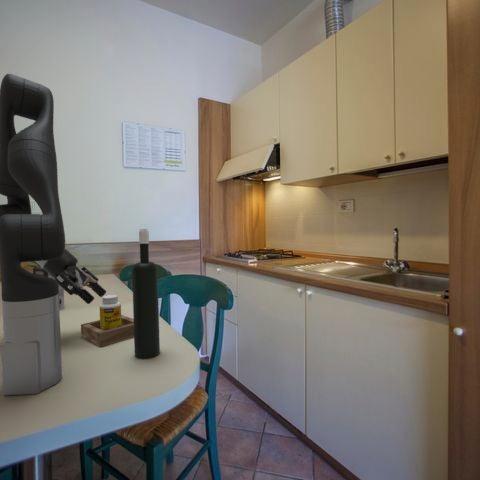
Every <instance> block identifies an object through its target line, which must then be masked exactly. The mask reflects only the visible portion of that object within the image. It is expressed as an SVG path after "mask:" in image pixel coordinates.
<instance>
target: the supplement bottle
mask: <svg viewBox="0 0 480 480" xmlns="http://www.w3.org/2000/svg"><path fill="white" fill-rule="evenodd" d="M101 298H102V300H101V301H102V303H100V304H99V320H100V330H103V331H105V330H109V329H112V328H116V327H120V326H121V315H122V305H121V302H120V301H119V296H118V295H117V294H109V295H104V296H102V297H101Z"/></svg>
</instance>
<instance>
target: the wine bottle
mask: <svg viewBox="0 0 480 480" xmlns="http://www.w3.org/2000/svg"><path fill="white" fill-rule="evenodd" d="M148 230H149V229H148V228H140V229H139V231H138V241H139V262H137V263H135V264H134V265H132V268H131V274H132V275H131V279H132V308H133V319H134V337H133V339H134V341H133V342H134V346H133V347H134V357H135V358H137V359H140V360H144V359H145V360H147V359H152V358H154V357H157V356H158V355H160V352H161V351H160V348H161V347H160V316H159V315H160V313H159V311H160V310H159V281H158V279H159V278H158V276H159V275H158V274H159V273H158V266H157V264H155V263H154V262H153V261H150V255H149V254H150V253H149V251H150V249H149V245H150V240H149V239H150V235H149V234H150V233H149V231H148Z"/></svg>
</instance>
